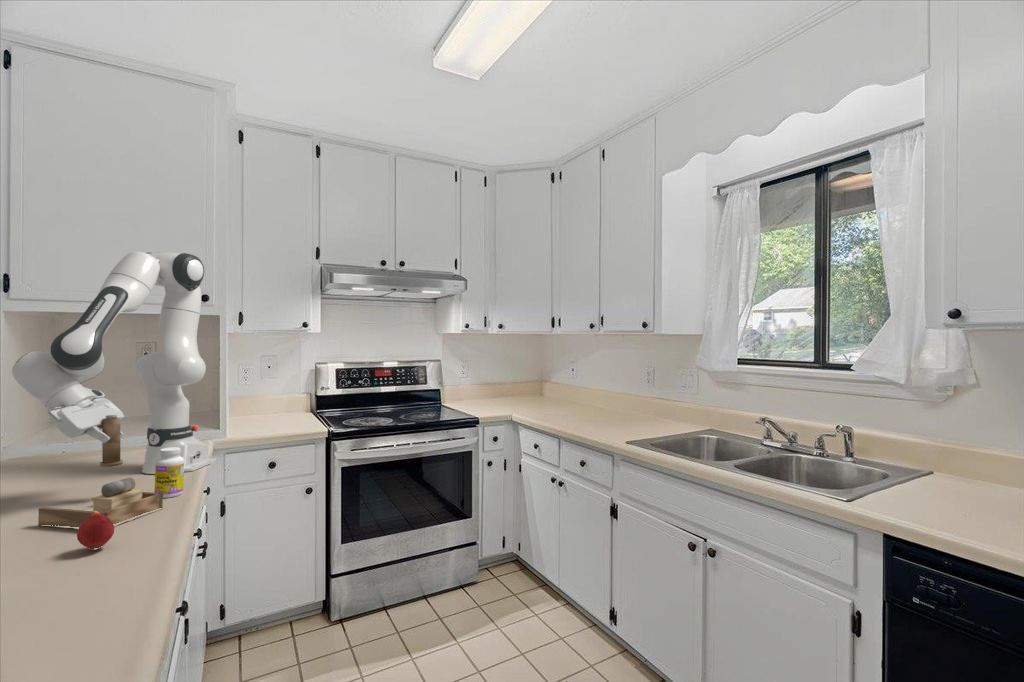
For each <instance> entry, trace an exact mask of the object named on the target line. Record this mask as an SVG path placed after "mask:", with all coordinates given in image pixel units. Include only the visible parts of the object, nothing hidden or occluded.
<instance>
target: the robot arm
mask: <svg viewBox="0 0 1024 682" xmlns="http://www.w3.org/2000/svg"><path fill="white" fill-rule="evenodd" d="M204 275H205V267H204V264H203V262H202V260H201V259H200V258H199V256H197V255H193V254H191V253H188V252H187V253H186V252H183V253H180V252H170V251H164V252H144V251H139V250H138V251H130V252H129V253H127V254H126V255H125V256H124V257H122V258H121V259H120V261H118V263H117V264H116V265H115V266H114V267H113V269H112V270H111V271H110V273H109V274H108V275H107V277H106V278H105V280H104V282H103V283H102V285H101V287H100V290H98V291H99V292H98V293H97V296H96V297H95V298H94V299H93V301H92V302H91V303H90V304H89V306H88V307H87V308H86V309H85V311H84V312H83V314H82V315H81V316H80V318H79V319H78V320H77V321H76V323H75V324H73V325H72V326H71V327H70V328H68V329H66V330H65V331H63V332H61V333H60V334H58V335H57V336H56V337H55V338H54V340H53V341H52V342H51V345H50V350H46V351H45V350H44V351H43V350H42V351H39V350H38V351H36V350H33V351H30V352H28V353H25V354H24V355H22V356H21V357H20V358H18V359H17V360H16V361H15V363H14V365H13V366H12V370H11V374H12V376H13V378H14V380H15V381H16V382H17V384H19V386H20V387H22V388H23V389H24V391H26V392H27V393H28V394H30V395H31V396H32V397H34V398H36V399H39V400H40V402H42V404H43V406H44V407H45V408H46V409H47V410H48V411H47V412H48V413H47V414H48V416H49V417H51V419H50V420H51V421H52V423H53V424H54V426H55V427H56V428H57V429H58V430H59V431H60V432H62V433H63V435H64V436H65V437H68V438H71V439H74V438H78V437H80V436H84V435H89V437H90V438H91V437H92V438H94V439H97V440H99V442H101V443H106V442H108V441H110V440H111V439H112V437H111V436H109V434H105V433H103V432H102V419H104V418H106V416H107V415H117V417H119V418H120V422H121V421H122V420H123V419H124V418H125V415H124V413H123V412H122V410H120V408H118V406H117V405H115V403H113V402H112V401H111V400H110V399H108V398H106V397H105V396H106V394H105V393H103V391H101V390H98V389H92V388H88V387H87V386H86V387H84V386H83V385H82V383H85V382H87V381H89V380H92V379H94V378H95V377H97V376H98V375H100V374H101V373H102V372H103V369H104V368H105V365H106V364H105V363H106V361H105V357H104V352H103V337H104V335H105V334H106V333H107V331H108V329H109V328H110V327H111V325H112V323H113V322H114V321H115V319H116V318H117V317H118V315H119V314H121V313H133V312H135V311H137V310H139V309H140V308H141V306H142V305H144V303H145V302H146V300H147V299H148V298H149V296H150V295H151V293H152V291H153V289H154V287H155V286H158V287H164V291H165V294H164V297H163V299H162V305H161V310H160V315H159V320H158V326H157V333H158V335H159V337H160V338H161V340H162V341H161V342H162V345H163V351H154V352H149V353H147V354H144V355H142V356H141V357H139V359H138V360H137V362H136V363H135V372H136V374H137V376H138V377H139V378H140V379H141V381H142V382H143V385H144V389H145V393H146V396H147V400H148V427H147V430H146V431H147V432H146V439H147V441H148V442H147V444H146V449H145V455H144V460H143V461H144V462H143V464H142V465H141V466H142V467H141V473H143V474H149V475H155V464H156V461H157V460H158V459H159V458H161V454H160V450H161V449H163V448H170V447H179V448H180V449H181V452H180V454H179V456H180V457H182V458H183V459H184V473H185V472H186V473H187V472H194V471H197V470H199V469H201V468H203V467H206V466H208V465H210V464H212V463H215V462H217V458H216V457H212V456H209V455H210V454H209V447H208V444H206V443H204V442H203V441H202V440H200V439H199V438H198V437H195V435H194V433H193V432H198V431H199V430H200V428H199V425H194V424H192V425H190V406H191V405H190V401H189V399H188V398H187V397H185V394H184V392H183V389H182V387H183V386H189V385H193V384H197V383H199V382H200V381H201V380H202V379H203V378H204V377H205V375H206V373H207V365H206V363H205V361H204V359H203V358H202V357H201V355H200V351H199V346H198V340H197V339H198V330H199V329H198V328H199V322H200V318H201V310H202V289H201V287H200V285H201V283H202V281H203V279H204V277H205V276H204ZM123 435H124V433H123V432H122V431H121V430H120V438H121V437H122V436H123Z"/></svg>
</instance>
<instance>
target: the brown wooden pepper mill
mask: <svg viewBox="0 0 1024 682" xmlns="http://www.w3.org/2000/svg"><path fill="white" fill-rule="evenodd" d="M101 431H102V432H103V433H105V434H109V436H111V437H112V439H111V440H110V441H108V442H106V443H102V442H101V443H102V446H101V447H102V454H101V455H102V457H101V458H102V461H101V462H99V466H100V467H101V468H108V467H109V468H110V467H117V466H121V465H123V463H124V461H123V459H121V437H120V431H121V421H120V418H119V417H117V415H107V416H106V418H104V419H102V429H101Z"/></svg>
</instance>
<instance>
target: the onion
mask: <svg viewBox="0 0 1024 682" xmlns="http://www.w3.org/2000/svg"><path fill="white" fill-rule="evenodd" d="M114 533H115V527H114V525H113V522H112V521H111V520H110V519H109V518H108V517H106V516H104V515H102V514H101V513H99V512H98V511H93V512H92V516H91V517H89V518H88V519H86V520H85V521H84V522H83V523H82V525H81V526H80V527H79V529H78V530H77V532H76V537H77V541H78V543H79V544H80V545H82V546H83V547H85V548H87V549H89V548H90V549H94V548H99V547H100V548H102V547H104V546H105V545H106V544H107V543H108V542H109V541H110V540H111V539H112V537H114ZM101 546H102V547H101ZM100 548H99V549H100ZM90 549H89V550H90Z"/></svg>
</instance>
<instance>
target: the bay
mask: <svg viewBox="0 0 1024 682" xmlns="http://www.w3.org/2000/svg"><path fill="white" fill-rule="evenodd" d="M101 495H103V494H102V493H101ZM163 500H164V498H163V493H154V492H148V491H144V492H142V499H140V500H137V501H134V502H131V503H129V504H126V505H123V506H120V507H117V508H114V509H111V510H108V511H105V512H99V513H101V514H102V515H104V516H106V517H108V518H109V519H110V520H111V521H112V522H113V524H116V523H119V522H122V521H124V520H127V519H130V518H132V517H135V516H138V515H141V514H143V513H146V512H150V511H153V510H156V509H159V508H162V509H163V502H164V501H163ZM84 510H85V509H82V510H81V509H71V508H69V509H68V508H61V507H59V508H58V507H49V506H48V507H44V506H43V507H39V508H38V524H37V526H38V525H51V526H52V525H53V526H55V525H56V526H58V525H59V526H70V527H80V526H81V525H82V523H83V522H84V521H85V520H86V519H88V518H89V517H91V516H92V512H93V511H84Z"/></svg>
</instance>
